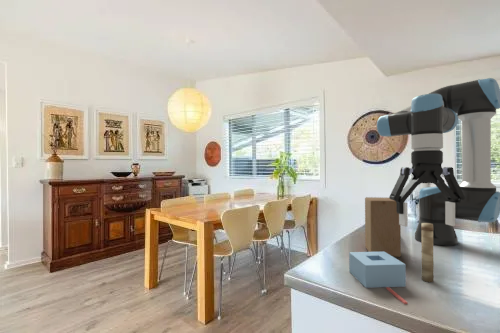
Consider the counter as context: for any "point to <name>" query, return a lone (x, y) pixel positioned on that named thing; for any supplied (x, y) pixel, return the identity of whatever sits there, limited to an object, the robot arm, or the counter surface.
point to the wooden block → (382, 226)
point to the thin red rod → (396, 295)
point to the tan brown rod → (427, 252)
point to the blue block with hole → (377, 269)
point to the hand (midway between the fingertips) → (426, 225)
